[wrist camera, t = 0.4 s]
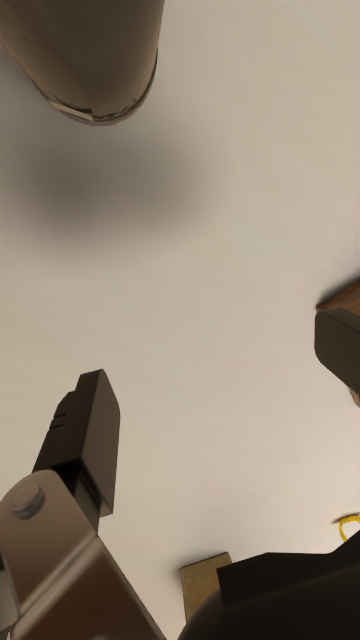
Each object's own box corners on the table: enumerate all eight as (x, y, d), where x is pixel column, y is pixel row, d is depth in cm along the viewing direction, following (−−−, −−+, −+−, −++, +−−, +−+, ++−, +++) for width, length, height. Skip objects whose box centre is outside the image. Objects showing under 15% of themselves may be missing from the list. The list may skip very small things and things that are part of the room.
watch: (361, 510, 53) (386, 545, 48) (360, 517, 54) (384, 552, 49) (333, 519, 53) (355, 554, 47) (333, 526, 54) (354, 561, 49)
